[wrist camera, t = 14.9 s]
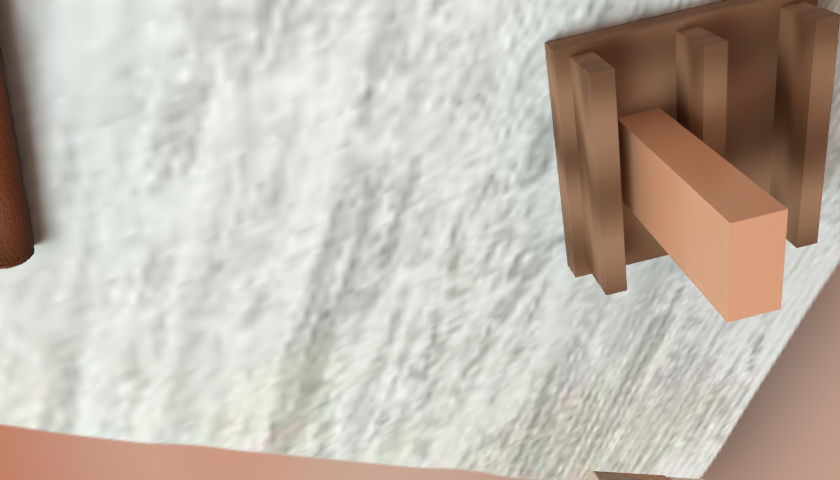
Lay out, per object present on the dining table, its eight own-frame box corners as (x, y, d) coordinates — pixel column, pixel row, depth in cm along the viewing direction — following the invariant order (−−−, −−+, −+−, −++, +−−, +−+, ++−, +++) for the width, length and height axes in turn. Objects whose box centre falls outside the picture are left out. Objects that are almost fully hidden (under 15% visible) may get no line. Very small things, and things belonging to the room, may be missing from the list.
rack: (544, 42, 39) (572, 67, 35) (801, -18, 39) (857, 0, 35) (567, 264, 46) (593, 305, 42) (784, 211, 46) (829, 247, 42)
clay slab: (616, 118, 40) (730, 223, 29) (659, 108, 40) (788, 209, 30) (621, 199, 42) (727, 322, 32) (661, 189, 42) (780, 309, 32)
